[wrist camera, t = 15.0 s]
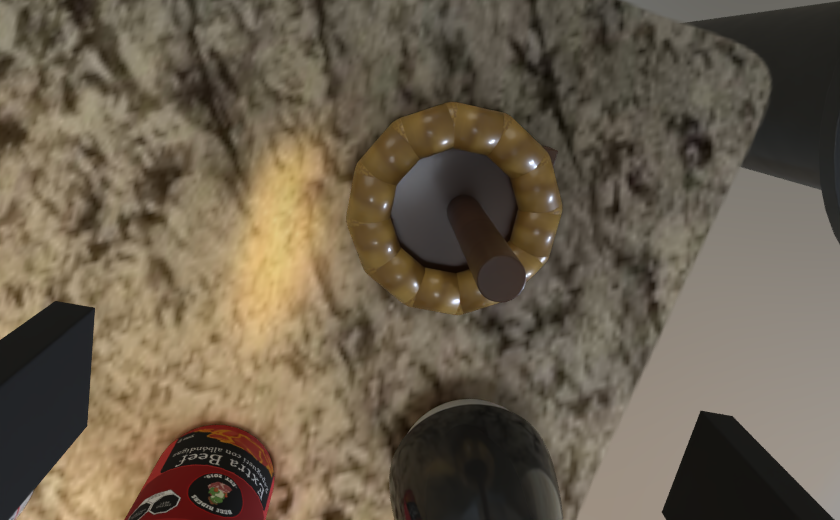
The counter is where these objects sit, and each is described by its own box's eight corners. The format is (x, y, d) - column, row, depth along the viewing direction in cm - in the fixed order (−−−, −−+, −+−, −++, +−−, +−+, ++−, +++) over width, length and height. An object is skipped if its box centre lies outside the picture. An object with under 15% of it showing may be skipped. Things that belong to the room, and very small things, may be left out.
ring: (577, 128, 35) (591, 132, 33) (523, 319, 38) (532, 335, 36) (371, 82, 34) (370, 83, 31) (333, 284, 37) (330, 298, 35)
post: (551, 147, 37) (642, 191, 24) (513, 288, 39) (577, 396, 27) (402, 115, 36) (414, 144, 23) (373, 262, 38) (369, 362, 25)
